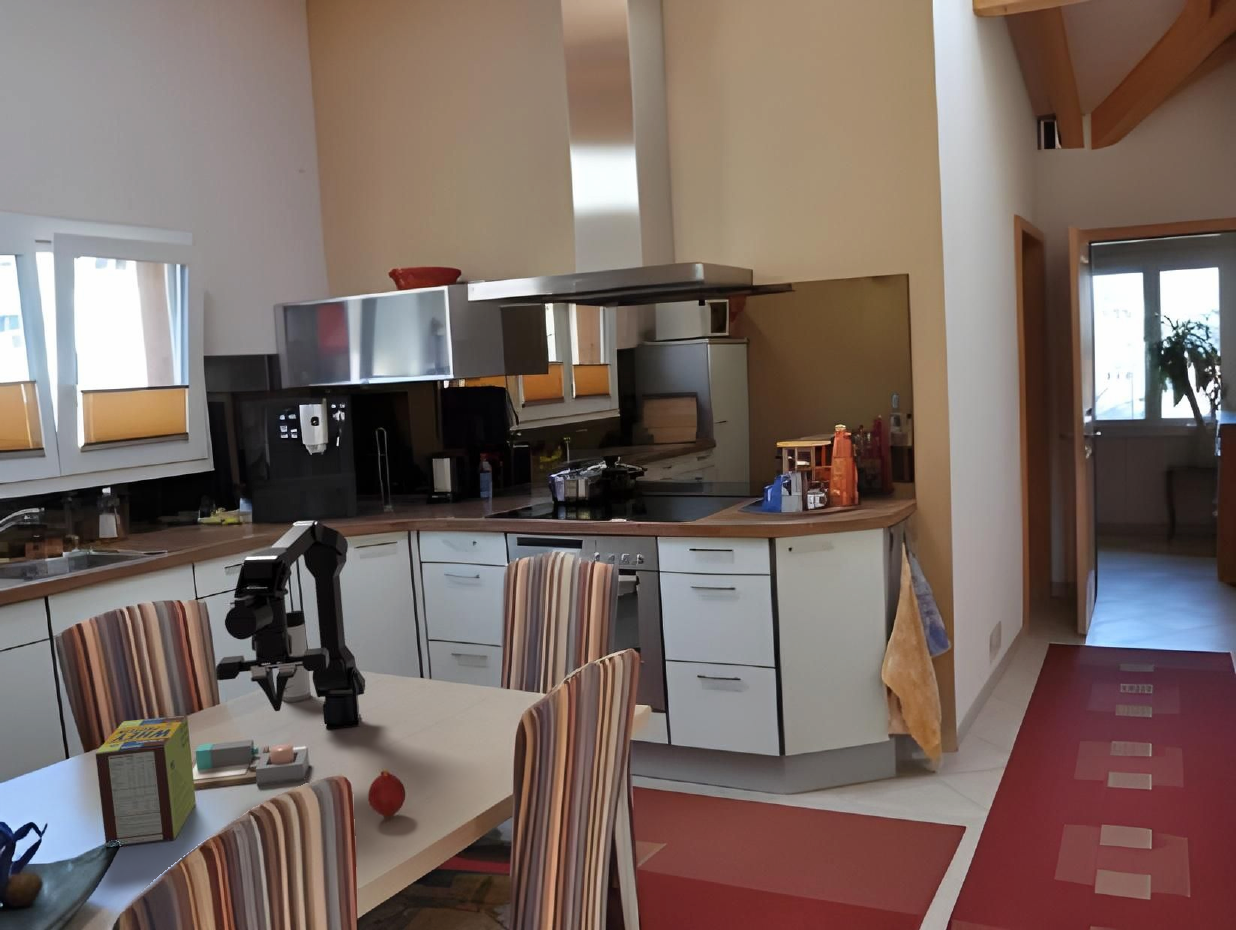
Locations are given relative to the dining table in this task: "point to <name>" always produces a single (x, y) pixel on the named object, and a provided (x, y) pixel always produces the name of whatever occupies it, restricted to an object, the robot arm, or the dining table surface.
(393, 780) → the onion
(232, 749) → the block
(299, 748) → the card
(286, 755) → the button
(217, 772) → the clipboard
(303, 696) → the travel mug
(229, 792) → the dining table surface
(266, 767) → the button housing
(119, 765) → the protein box
